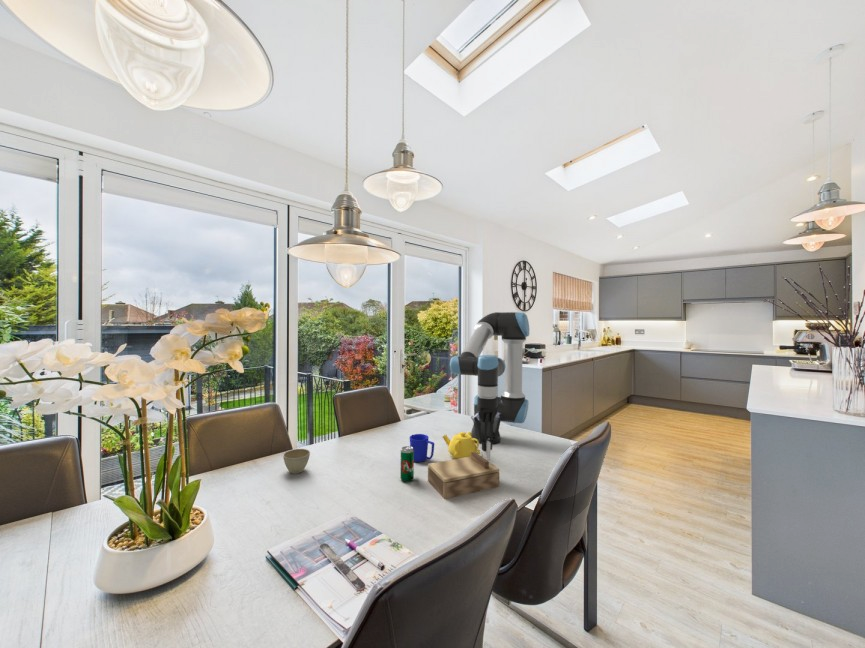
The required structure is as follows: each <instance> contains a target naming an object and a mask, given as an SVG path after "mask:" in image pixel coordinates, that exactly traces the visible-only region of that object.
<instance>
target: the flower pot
mask: <svg viewBox="0 0 865 648" xmlns="http://www.w3.org/2000/svg"><path fill="white" fill-rule="evenodd" d="M310 455H311V451H310V450H309V449H307V448H306V449H305V448H295V449H290V450H288V451H286V452H284V453H283V455H282V457H283V462H284V465H285V467H286V469H287V470H288V472H289V473H290V474H293V475H295V474H296V473H297V474H300V472H301V473H302V472H303V471H304V470H305V469H306V467H307V465H308V462H309V459H310ZM297 474H296V475H297Z"/></svg>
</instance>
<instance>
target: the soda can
mask: <svg viewBox="0 0 865 648" xmlns="http://www.w3.org/2000/svg"><path fill="white" fill-rule="evenodd" d="M414 470H415V461H414V450H413V447H411V446H410V445H406V446H402V447H401V450H400V474H399V475H400V477H399V478H400V480H401V481H402V482H405V483H409V482H412V481H413V480H414V477H415V471H414Z"/></svg>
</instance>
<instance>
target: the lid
mask: <svg viewBox="0 0 865 648" xmlns="http://www.w3.org/2000/svg"><path fill="white" fill-rule="evenodd" d="M428 467H429V468H430V469H431V470H432V471H433V472H434V473H435V474H436V475H437V476H438V477H439V478H440V479H441V480H442V481H443V482H444V483H445V482H450V481H455V480H460V479H465V478H470V477H475V476H480V475H485V474H490V473H495V472H499V473H500V468H499V467H498V466H496V465H494V464H493V463H491V462H490V460H488V461H487V460H486V459H484V458H483V456H482V455H481V454H477V453H475V452H471V457H465V458H457V459H448V460H444V461H437V462H431V463H427V468H428Z"/></svg>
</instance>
